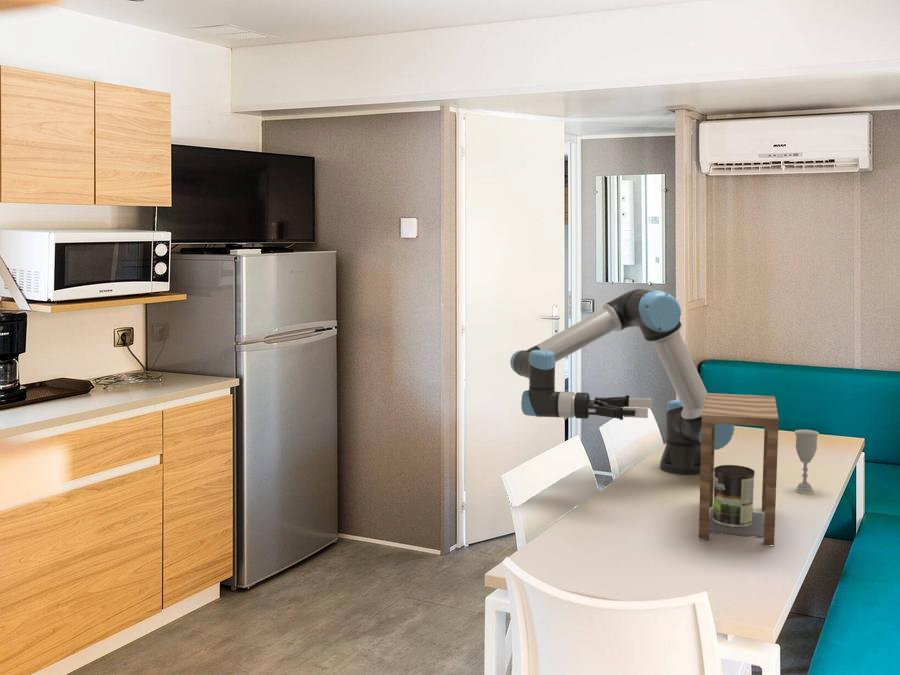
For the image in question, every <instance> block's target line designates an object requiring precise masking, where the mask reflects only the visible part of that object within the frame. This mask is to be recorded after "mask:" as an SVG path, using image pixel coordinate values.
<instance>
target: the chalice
mask: <svg viewBox="0 0 900 675" xmlns="http://www.w3.org/2000/svg"><path fill="white" fill-rule="evenodd" d="M794 434H795V450H796V453H797V456H798V458H799V460H800V462H801V463H803V468H802V472H803V473H802V474H801V476H802V477H803V480H802V482H799V483H798V484H797V486H796V489H795V492H796V491H797V492H796V493H798V492H799V493H798V494H803V493H805V494H806V495H810V493H812V494H814V493H813V492H814V490H813V487H812V485H811V484H810V483H809V482H808V479H807V478H808V477H809V475H808V470H809V469H808V464H809V463H811V462H812V460H813V458H814V457H815V455H816V452H817V449H818V448H817V447H818V436H819V434H820V433H819V431H816V430H812V429H811V430H810V429H797V430H794ZM805 494H804V495H805Z"/></svg>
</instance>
